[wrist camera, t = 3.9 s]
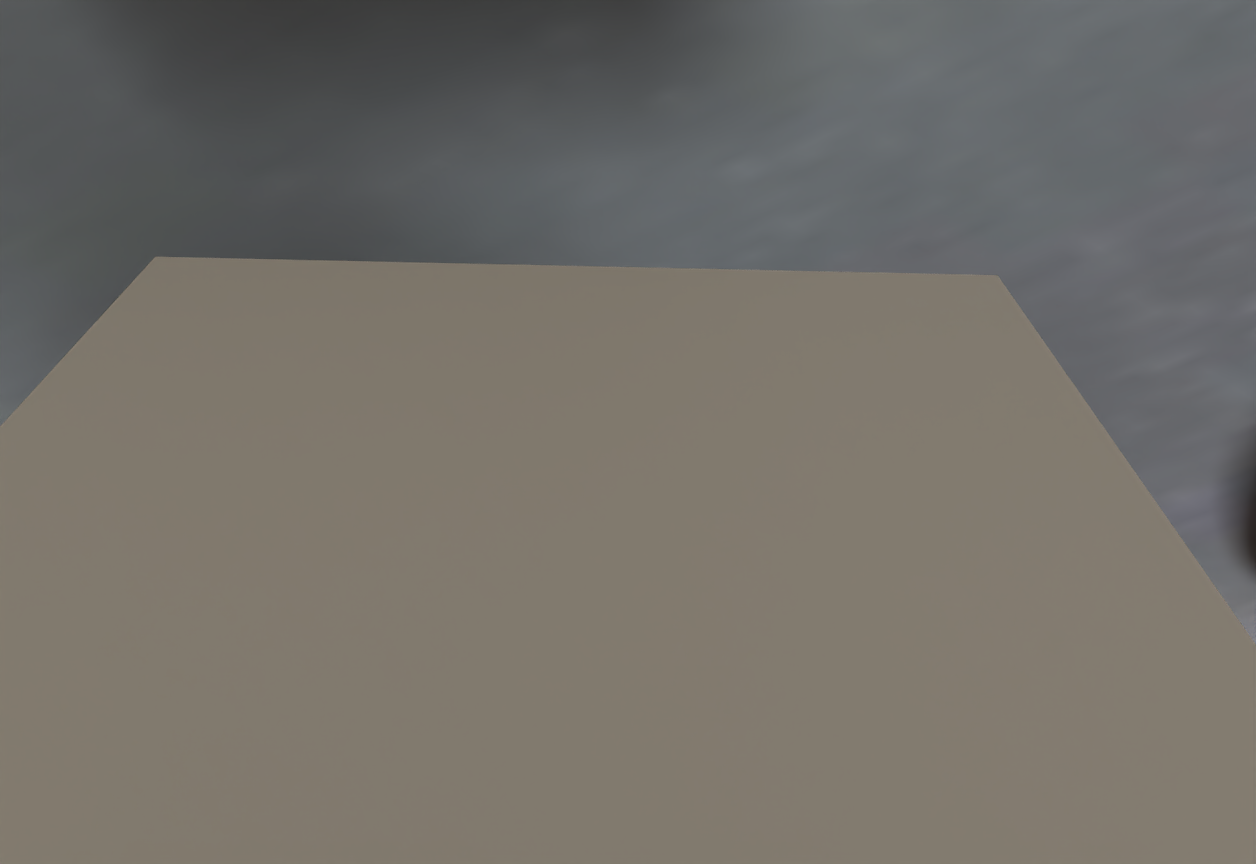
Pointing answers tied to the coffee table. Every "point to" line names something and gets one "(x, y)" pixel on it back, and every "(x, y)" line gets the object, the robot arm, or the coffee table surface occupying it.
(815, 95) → the coffee table surface
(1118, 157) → the coffee table surface
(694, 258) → the coffee table surface
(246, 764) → the cream cuboid
